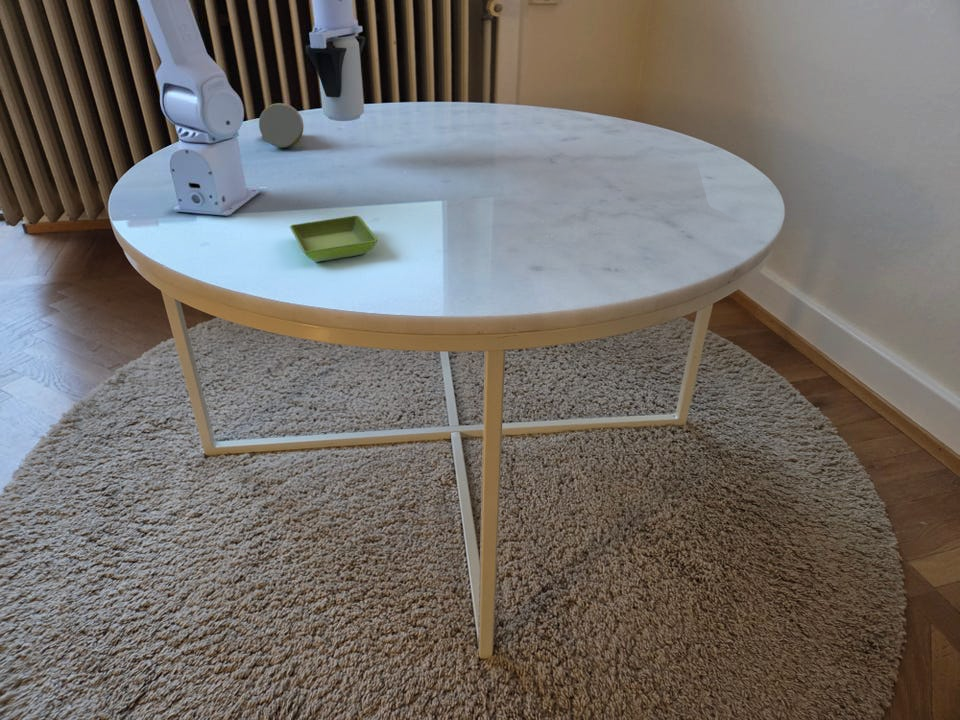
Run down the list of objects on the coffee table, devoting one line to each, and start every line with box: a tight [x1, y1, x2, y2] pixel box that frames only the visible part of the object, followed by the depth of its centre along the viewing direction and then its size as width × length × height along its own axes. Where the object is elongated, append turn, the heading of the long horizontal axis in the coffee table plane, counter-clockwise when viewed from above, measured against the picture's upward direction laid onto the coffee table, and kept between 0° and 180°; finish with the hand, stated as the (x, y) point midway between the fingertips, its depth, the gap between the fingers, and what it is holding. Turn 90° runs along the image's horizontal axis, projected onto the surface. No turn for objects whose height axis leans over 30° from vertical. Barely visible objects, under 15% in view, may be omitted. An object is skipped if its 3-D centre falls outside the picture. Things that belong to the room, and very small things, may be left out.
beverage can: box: [318, 33, 365, 122], centre depth 103 cm, size 6×6×12 cm
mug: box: [258, 102, 304, 149], centre depth 115 cm, size 8×10×10 cm
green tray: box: [289, 215, 378, 263], centre depth 81 cm, size 9×9×2 cm
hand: (341, 91), depth 104 cm, fingers closed on beverage can, 6 cm apart
